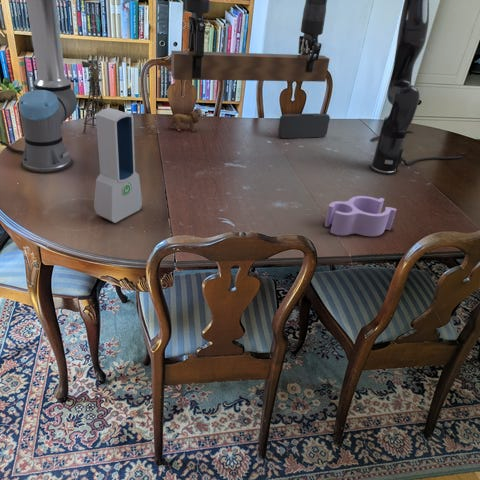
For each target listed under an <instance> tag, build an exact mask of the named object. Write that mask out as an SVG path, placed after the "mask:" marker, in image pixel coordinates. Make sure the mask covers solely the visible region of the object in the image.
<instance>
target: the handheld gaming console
mask: <svg viewBox="0 0 480 480" xmlns="http://www.w3.org/2000/svg"><path fill="white" fill-rule="evenodd" d="M330 119H331V117H330V115H329V114H327V113H284V114H282V115H281V116H280V117H279V124H278V130H277V131H278V132H277V135H278V137H279V138H281V139H299V138H301V139H303V138H322V137H326V136H327V134H328V128H329V124H330Z"/></svg>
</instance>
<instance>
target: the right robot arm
mask: <svg viewBox="0 0 480 480" xmlns="http://www.w3.org/2000/svg"><path fill="white" fill-rule="evenodd" d="M327 3H328V0H305V3H304V6H303V10H302V19H301V25H300V32H301V33H302V34H303V35H299V37H298V55H308V61H307V66H306V72H309V73H311V72H312V70H313V64H314V61H317V60H318V57H319V55H320V53H321V49H322V42H319V36H321V35H323V32H324V27H325V21H326V14H327ZM429 23H430V0H404V1H403V4H402V10H401V15H400V19H399V25H398V30H397V31H398V32H397V39H396V45H395V46H396V48H395V53H394V60H393V61H394V62H393V68H392V71H391V76H390V79H389V84H388V88H387V92H386V97H387V101H388V102H389V104H390V105H391V109H390V112H389V115H386V116H385V117H384V118H383V120H382V125H381V128H380V131H379V135H378V136H379V139H377V143H376V147H375V151H374V155H373V158H372V162H371V165H370V168H371V169H372V170H373V171H374V172H376V173H379V174H384V175H393V174H395V173H396V172H397V171H398V168H399V165H402V162H403V164H404V165H405V166H410V165H413V164H414V163H416V162H420V161H427V160H457V159H461V158H462V157H463V156H467V154H466V152H462V153H463V154H464V153H465V154H464V155H463V156H461V155H462V154H461V155H457V156H430V157H422V158H417V159H414V160H412V161H410V162H407V161H406V160H405V159H404V157H403V156H402V155H403V151H404V147H403V146H404V142H405V139H406V135H407V133H408V132H407V130H409V126H410V125H411V123H412V122H413V120H414V117H415V114H416V111H417V109H418V105H419V102H420V97H421V96H420V90H419V89H418V88H417V87H416V86H415V85H413V84H412V79H413V71H414V67H415V64H416V62H417V60H418V58H419V57H420V55H421V53H422V51H423V49H424V47H425V44H426V42H427V41H426V40H427V35H428V30H429V25H430V24H429ZM310 55H311V56H310ZM315 55H316V57H315Z"/></svg>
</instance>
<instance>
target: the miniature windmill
mask: <svg viewBox="0 0 480 480" xmlns="http://www.w3.org/2000/svg"><path fill="white" fill-rule="evenodd" d="M95 56H96V57H95ZM90 58H91V59H90V60H89V62H90V63H89V62H87V61H83V60H82V61H81V67H82V68H89V70H90V71H89V73H90V75H91V77H90V78H89V79H86V82H90V84H89V87H88V88H89V91H88V97H87V104H86V109H85V116H84V118H85V119H84V122H83V124H84V125H83V133H86V129H87V125H88V126H91V127H97V125H96V124H95V120H96V117H95V114H97V113H98V112H99V111H101V110H100V109H102V110H103V109H106V108H107V107H106V105H105V102H104V97H103V95H102V92H101V86H100V84H99V83H100V82H102V81H103V79H101V78H99V76H100V75H101V72H102V70H101V69H102V66H101V65H102V63H101V60H102V59H101V57H100V56H99V55H98V54H97V53H94V54H93V55H92V56H91V57H90ZM91 93H92V96H91ZM98 93H99V95H98ZM100 100H101V103H102V106H100V103H99V101H100ZM95 101H96V105H95ZM90 105H92V106H91V107H90ZM95 108H97V110H95ZM89 112H90V113H89ZM90 115H92V116H91V118H89V119H88V117H89V116H90ZM90 121H92V123H88V122H90Z"/></svg>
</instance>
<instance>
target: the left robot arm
mask: <svg viewBox="0 0 480 480" xmlns="http://www.w3.org/2000/svg"><path fill="white" fill-rule="evenodd" d="M25 2H26V7H27V14H28V20H29V27H30V33H31V39H32V47H33V53H34V61H35V66H36V72H37V77H36V79H35V80H34V82H33V84H34V85H33V86H34V90H31V91H27V92H24V93H22V95H20V97H19V99H18V111H19V114H20V119H21V126H22V132H23V136H24V148H23V150H21V149H16V148H14V147H11V146H10V145H9V144H8V143H6V142H4V141H2V140H0V145H3V146H4V147H6V148H7V149H9V150H10V151H12V152H15V153H19V154H22V158H21V159H22V160H21V161H22V166H23V168H24V169H25V170H27V171H29V172H33V173H39V174H46V173H56V172H61V171H63V170H66V169H67V168H69V167H70V166H71V163H72V159H71V155H70V150H67V149H68V148H67V147H66V145H65V143H64V140H63V132H62V124H64V123H65V121H66V120H68V119H69V118H70V117H71V116H72V115H73V114H74V112H75V110H76V108H77V106H78V105H77V104H78V99H77V95H76V92H75V91H74V89H72V83H71V81H70V79H68V78H67V77H66V74H65V73H66V72H65V65H64V57H63V56H64V55H63V50H62V49H63V48H62V41H61V34H60V33H61V31H60V23H59V16H58V9H57V1H56V0H25ZM184 6H185V7H184V8H185V11H186V12H188V13H191V16H188V39H187V40H188V41H187V49H188V51H194V55H192V57H193V72H192V78H201V64H202V57H204V52H205V37H206V35H205V34H206V27H207V24H206V23H205V19H204V14H209V13H210V10H211V7H210V6H211V0H185V3H184Z"/></svg>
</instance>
